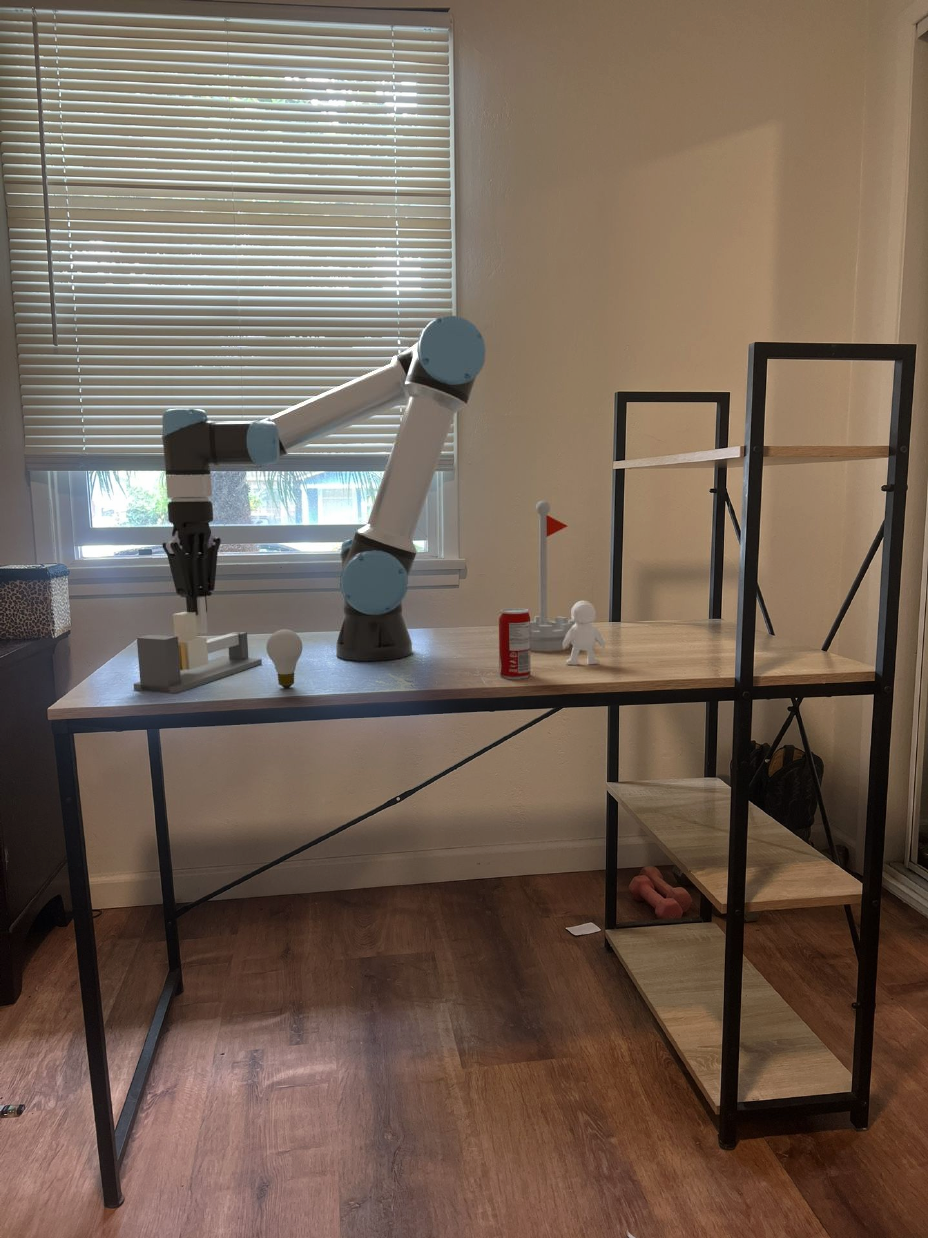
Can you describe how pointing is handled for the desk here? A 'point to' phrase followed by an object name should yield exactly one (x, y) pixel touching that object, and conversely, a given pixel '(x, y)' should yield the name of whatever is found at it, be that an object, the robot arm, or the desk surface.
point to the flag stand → (541, 630)
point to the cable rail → (168, 662)
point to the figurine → (583, 633)
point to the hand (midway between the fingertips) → (198, 632)
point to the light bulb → (284, 654)
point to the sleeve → (190, 639)
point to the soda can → (514, 643)
